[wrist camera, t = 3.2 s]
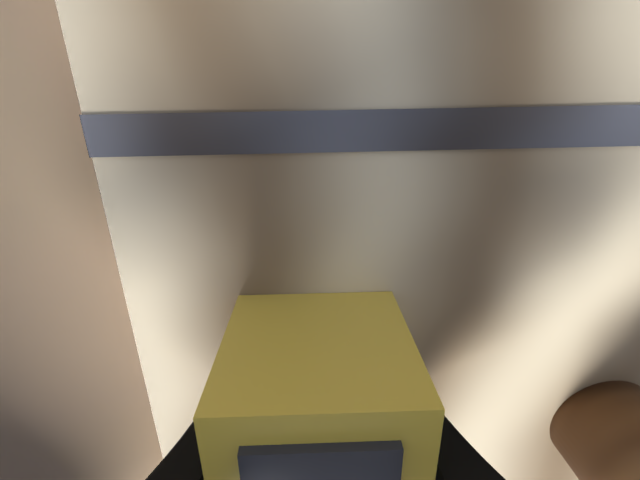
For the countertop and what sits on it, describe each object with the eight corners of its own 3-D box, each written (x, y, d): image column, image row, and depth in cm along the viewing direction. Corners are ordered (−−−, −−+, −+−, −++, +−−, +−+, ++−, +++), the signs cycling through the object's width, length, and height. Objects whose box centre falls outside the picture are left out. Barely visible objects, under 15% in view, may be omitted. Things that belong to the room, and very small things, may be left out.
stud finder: (256, 466, 13) (230, 647, 9) (238, 295, 10) (189, 427, 6) (381, 462, 13) (416, 638, 9) (391, 291, 11) (449, 418, 6)
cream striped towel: (186, 484, 15) (175, 518, 14) (52, -153, 8) (4, -201, 7) (635, 466, 15) (663, 497, 14) (888, -154, 8) (990, -200, 7)
